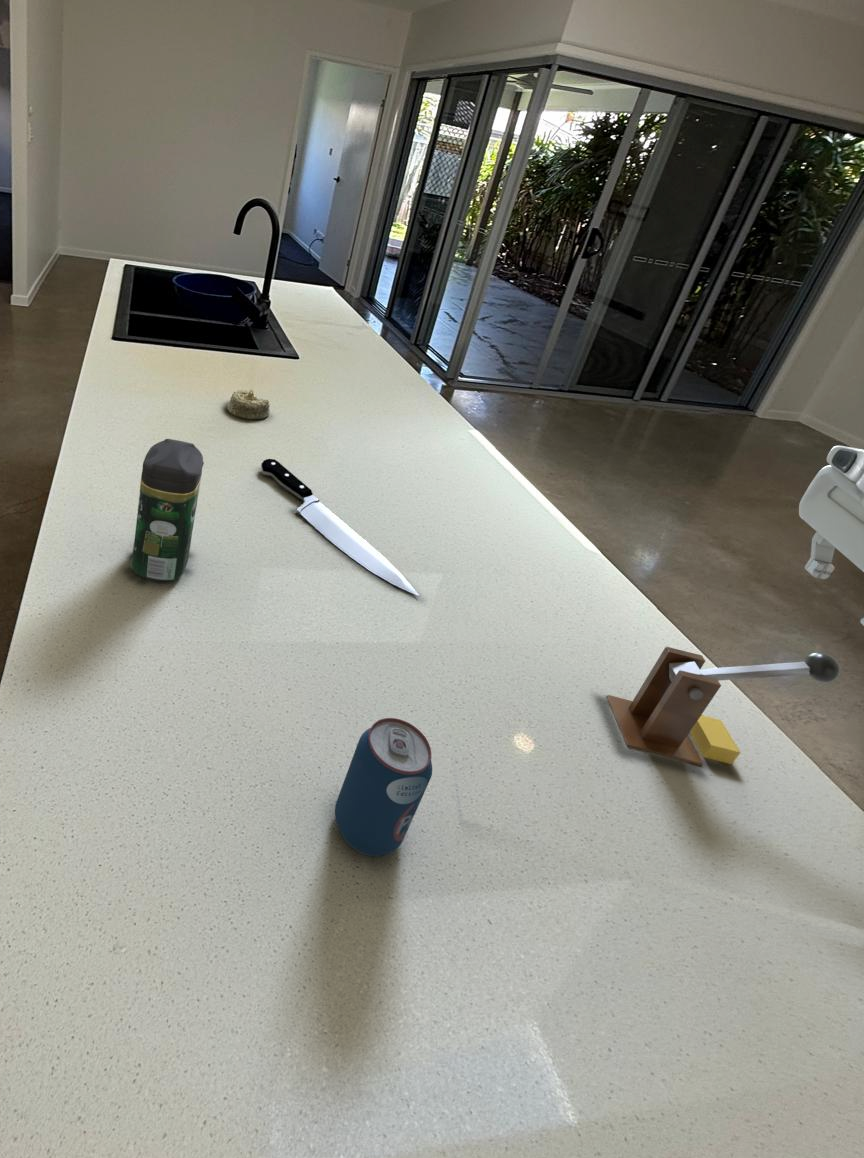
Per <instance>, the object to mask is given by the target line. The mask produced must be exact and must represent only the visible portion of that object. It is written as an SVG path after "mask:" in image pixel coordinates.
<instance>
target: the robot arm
mask: <svg viewBox="0 0 864 1158" xmlns="http://www.w3.org/2000/svg"><path fill="white" fill-rule="evenodd" d="M826 462H827V464H828V465H826V466H824V467H822V468H821V469H820V470H819V471H818V472H817V474H816V475H815V476H814V478H813V479H812V481H811V482H810V484H809V486H807V489H806V490H805V492H804V494H803V496H802V497H801V499H800V502H799V503H798V516H799V518H800V519H801V520H803V521H804V523H806V524H807V525H808V526H810V528H812V529H813V530H814V531H815V533H814V534H813V536H812V538H811V545H810V546H811V547H810V558H809V559H808V561H807V562H806V563H805V566H804V570H806V572H807V573H809V575H810V576H812V577H813V578H815V579H821V580H827V579H828V578H830V577H831V573H833V572H834V570H835V569H836V567H835V566H834V565H833V564H832V562H833V558H834V554H835V550H837V551H839V553H841V554H842V555H843V556H844V557H845V558H846V559H848V560H849V562H851V563H852V564H853V565H854V566H856V567H857V569H859V570H860V571H861V572H863V573H864V449H863V448H856V447H852V446H845V445H835V446H833V447H832V448H831V449H830V450H829V453H828V454H827V456H826ZM859 622H860V624H861V625H862V626H863V627H864V617H861V618H860V620H859Z"/></svg>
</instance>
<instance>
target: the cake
mask: <svg viewBox="0 0 864 1158" xmlns="http://www.w3.org/2000/svg"><path fill="white" fill-rule="evenodd" d="M270 407H271V406H270V400H269V399H268V398H264V397H262V398H257V396H256V395H255V393H254V390H253V389H251V390H249V389H238V390H236V391H233V393H232V395H231V397H230V400H229V403H228V404H227V406H226V409H227V411H228V412H229V413H230V414H232V415H234V416H235V417H238V418H241V419H247V420H261V419H264V418H267V417H269V416H270V413H271V411H270V410H271V408H270Z"/></svg>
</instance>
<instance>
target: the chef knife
mask: <svg viewBox="0 0 864 1158" xmlns="http://www.w3.org/2000/svg"><path fill="white" fill-rule="evenodd" d="M260 469H261V474H262V475H264V476H267V477H270V478H272V479H274V480H275V481H276V482H277V484H279V485H280V487H282V488H283V489H285V490H286V491H287V492H289V493H290V494H291V495H293V496H294V497H295V498H296V499H298V500H299V501H300V502H302V504H301V505H300V506H299V507H297V508H296V509H295V510H296V511H295V512H296V514H297V515H298V516H301V517H302V518H303V519H304V520H305V521H306V522H308V523H309V524H310V525H311V526H312V527H314V529H316V530H317V531H318V532H319V533H320V534H321V535H323V537H325V538H326V540H328V541H329V542H331V543H332V544H333V545H334V546H335V547H337V549H340V550H341V551H342V552H343V553H344V554H346V555H347V556H348V557H349V558H351V559H352V560H354V561H355V562H356V563H358V564H359V565H360V566H362V567H363V568H365V569H366V570H368V571H369V572H371V573H372V574H374V575H376V576H378V577H379V578H381V579H383V580H384V581H386V582H387V583H389V584H391V585H393V586H395V587H397V588H399V589H401V590H403V591H406V592H408V593H410V594H413V595H416V596H417V597H420V594H419V593H418V592H417V590H415V588H414V587H413V586H412V584H411V583H410V582H409V581H408V579H407V578H406V577H405V576H404V574H402V573H401V572H400V570H398V568H396V566H394V565H393V564H392V563H391V562H390V561H389V559H388V558H386V557H385V556H384V555H382V554H381V552H379V551H378V550H377V549H375V547H374V546H372V545H371V544H370V543H369V542H367V540H365V539H364V538H363V537H362V536H361V535H360V534H358V533H357V532H356V530H354V529H353V528H351V527H350V526H349V525H348V524H347V523H345V521H343V520H342V519H341V518H340V517H339V516H337V515H336V514H335V513H334V512H332V511H331V510H330V509H329V508H328V507H327V506H325V505H324V504H323V502H321V501H320V499H319V498H318V497H317V496H315V495H314V493H313V491H312V489H311V488H309V486H308V485H306V484H305V483H303V481H301V480H300V479H299V478H298V477H297V476H296V475H295V474H294V473H292V472H291V471H290V470H288V469H287V468H286V467H285V466H284V465H282V463H281V462H279V461H278V460H276V459H275V458H266V459H264V460H263V461H261V463H260Z"/></svg>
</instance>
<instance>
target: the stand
mask: <svg viewBox="0 0 864 1158" xmlns="http://www.w3.org/2000/svg"><path fill="white" fill-rule="evenodd" d="M693 661H695V663H696V664H697V666H698V668H699V669H702V668H703V666H704V664H705V663H706V659H705V658H704V656H703V654H698V653H694V652H690V651H686V650H681V649H678V648H674V647H670V646H665V647H664V649H663V650H662V652H661V653H660V655H659V656H658V659H657V660H656V661H655V664H654V665H653V667H652V669H650V671H649V674H648V675H647V677H646V678H645V680H644V682H643V683H642V685H641V687H640V688H639V690H638V692H637V693H636V695H635V696H634V698H633V700H629V699H626V698H621V697H617V696H614V695H611V694H606V695H605V698H606V700H607V702H608V705H609V708H610V709H611V712H612V714H613V717H614V719H615V721H616V724H617V726H618V728H619V732H620V734H621V736H622V738H623V741H624V743H625V746H626V747H628V748H632V749H637V750H641V751H644V752H648V753H651V754H655V755H660V756H663V757H667V758H671V759H674V760H679V761H683V762H687V763H690V764H694V765H699V766H703V765H704V762H703V761H702V759H701V757H700V755H699V754H698V751H697V750H696V747H695V746H694V744H693V741H692V740H691V738H690V736H689V734H690V731H691V729H692V728H693V726H694V725H695V724H696V722H697V721H698V719H699V718H700V716H701V715H703V713H704V712H705V710H706V709H707V707H708V706H709V704H710V703H711V701H712V700H713V699H714V697H715V696H716V694H717V693H718V691H719V690H720V688H721V687H722V684H721V683H720V681H718V680H717V679H713V678H709V677H705V676H701V675H697V674H693V673H689V672H685V671H681V670H679V672H678V673H677V675H676V676H675V678H674V679H673V681H672V682H671V680H670V679H669V663H680V662H693Z"/></svg>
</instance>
